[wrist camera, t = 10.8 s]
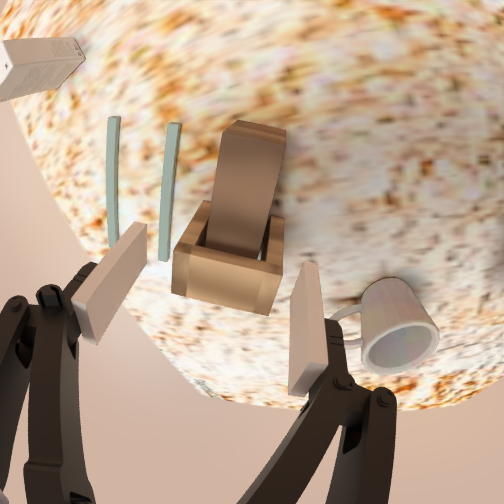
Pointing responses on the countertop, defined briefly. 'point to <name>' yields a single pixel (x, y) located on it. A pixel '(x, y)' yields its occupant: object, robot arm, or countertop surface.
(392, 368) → the mug
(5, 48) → the skincare box
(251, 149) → the brown wooden block
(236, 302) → the wooden arch block
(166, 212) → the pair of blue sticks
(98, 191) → the countertop surface
